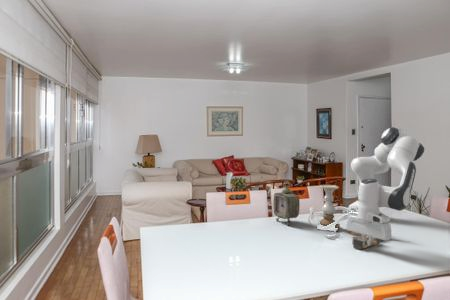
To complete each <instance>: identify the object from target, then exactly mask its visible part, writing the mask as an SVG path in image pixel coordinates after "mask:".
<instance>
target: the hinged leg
mask: <svg viewBox="0 0 450 300" xmlns="http://www.w3.org/2000/svg"><path fill="white" fill-rule="evenodd" d="M366 238H367V240H369V238H368V236H366ZM379 242H380V241H379V239H378V238H374V237H373V239H372V241H371V245H370V246H368V245H365V244H364V240H363V238H362V237H361V238H358V239H354V242H353V245H352V247H353V248H354V249H358V250H363V249H366V248H369V247H371V246H375V245H378V244H379Z"/></svg>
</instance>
